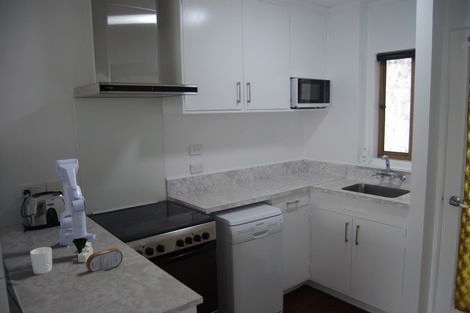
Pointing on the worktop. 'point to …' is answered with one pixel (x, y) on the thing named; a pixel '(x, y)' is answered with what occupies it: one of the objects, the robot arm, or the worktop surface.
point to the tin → (104, 259)
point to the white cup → (41, 260)
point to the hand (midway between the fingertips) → (81, 253)
